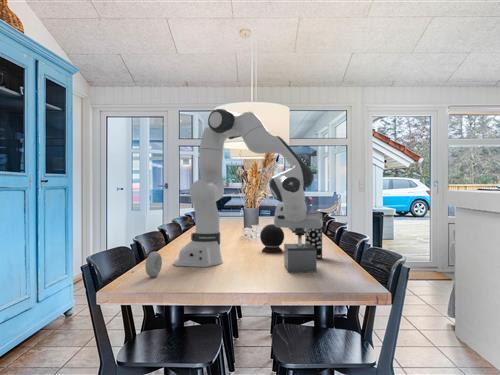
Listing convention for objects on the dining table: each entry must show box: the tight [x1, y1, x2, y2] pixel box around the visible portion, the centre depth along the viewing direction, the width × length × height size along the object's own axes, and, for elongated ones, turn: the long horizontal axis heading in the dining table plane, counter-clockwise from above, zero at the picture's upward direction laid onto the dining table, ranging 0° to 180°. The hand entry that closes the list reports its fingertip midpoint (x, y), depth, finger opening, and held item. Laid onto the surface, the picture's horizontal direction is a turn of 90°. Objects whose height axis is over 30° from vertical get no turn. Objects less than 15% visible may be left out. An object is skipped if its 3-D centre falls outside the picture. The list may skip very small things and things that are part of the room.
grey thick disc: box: [144, 251, 163, 278], centre depth 146 cm, size 10×4×10 cm, turn 168°
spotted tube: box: [304, 227, 323, 261], centre depth 184 cm, size 8×8×20 cm
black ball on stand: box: [259, 223, 285, 254], centre depth 203 cm, size 13×13×15 cm
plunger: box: [294, 228, 305, 247], centre depth 160 cm, size 8×8×17 cm
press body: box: [283, 243, 318, 273], centre depth 160 cm, size 12×12×10 cm
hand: (300, 232), depth 160 cm, fingers closed on plunger, 4 cm apart
